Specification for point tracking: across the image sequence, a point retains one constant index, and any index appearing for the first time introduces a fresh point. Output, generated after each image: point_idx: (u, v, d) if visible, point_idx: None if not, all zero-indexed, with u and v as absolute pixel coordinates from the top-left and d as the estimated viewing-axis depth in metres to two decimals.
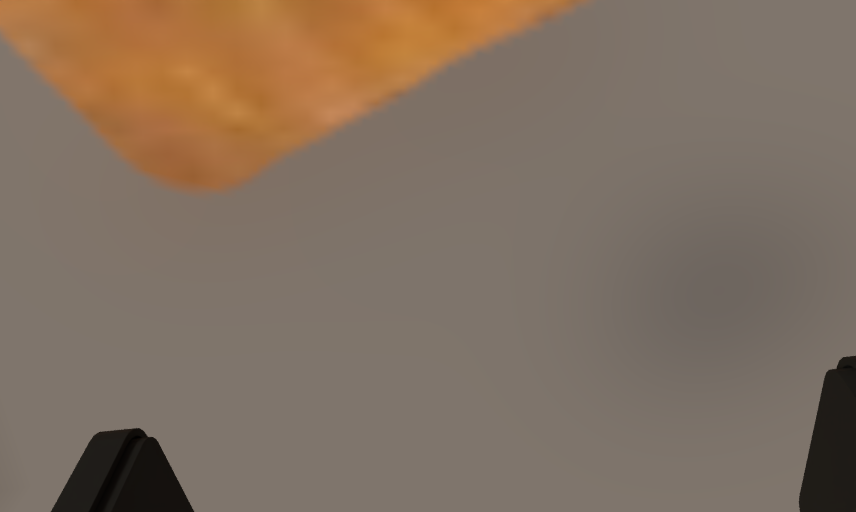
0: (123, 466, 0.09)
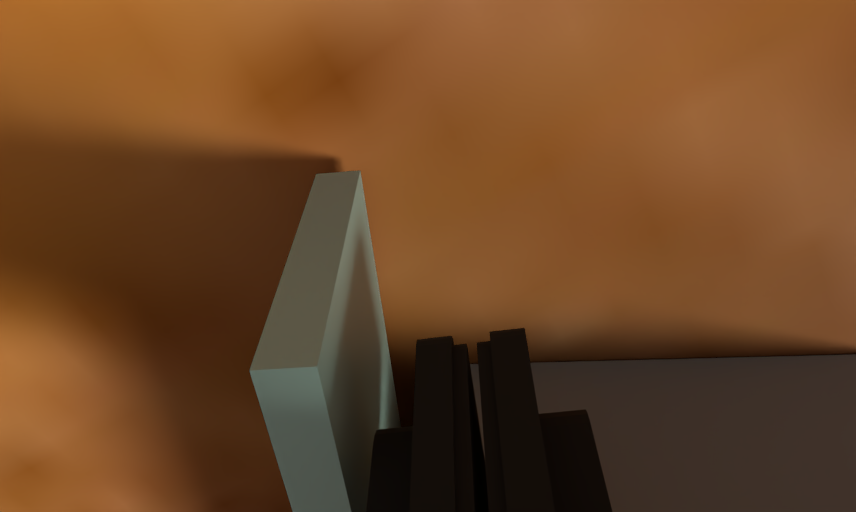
0: (458, 366, 0.10)
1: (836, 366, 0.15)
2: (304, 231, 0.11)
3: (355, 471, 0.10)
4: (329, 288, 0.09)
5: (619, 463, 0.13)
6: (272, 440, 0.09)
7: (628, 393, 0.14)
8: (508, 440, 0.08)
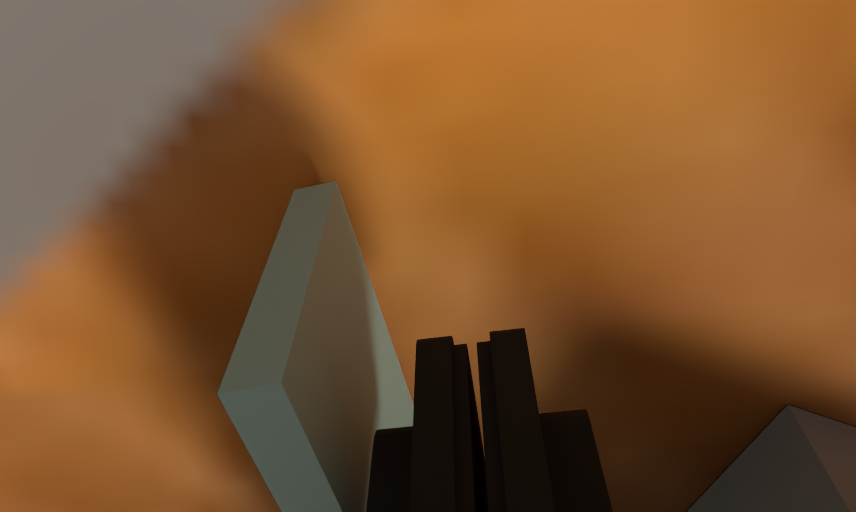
0: (458, 366, 0.10)
1: None
2: (278, 248, 0.11)
3: (351, 481, 0.10)
4: (299, 302, 0.09)
5: None
6: (255, 460, 0.09)
7: None
8: (508, 440, 0.08)
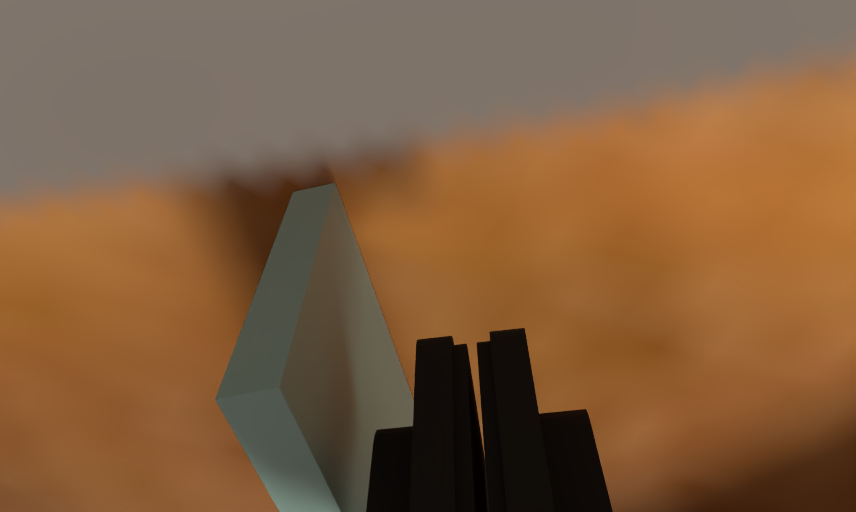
0: (458, 366, 0.10)
1: None
2: (276, 252, 0.11)
3: (351, 484, 0.10)
4: (297, 307, 0.09)
5: None
6: (254, 464, 0.09)
7: None
8: (508, 440, 0.08)
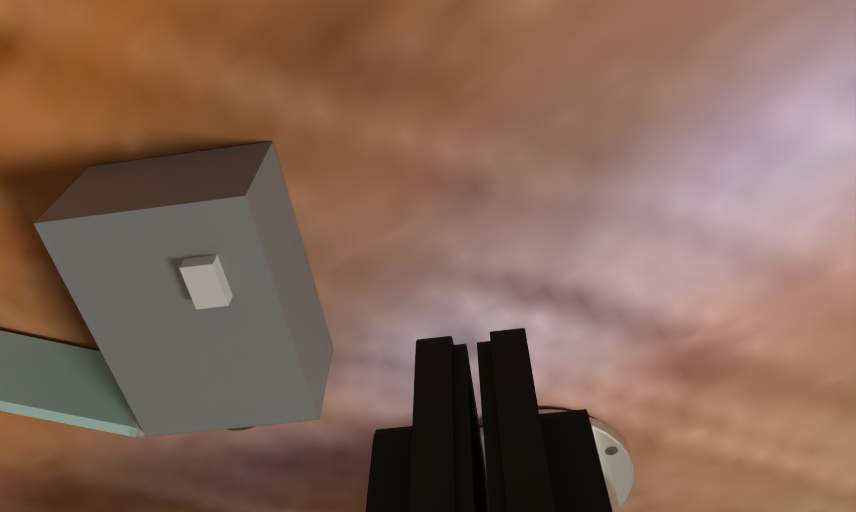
0: (458, 366, 0.10)
1: (243, 147, 0.35)
2: None
3: None
4: None
5: (130, 182, 0.34)
6: None
7: (154, 165, 0.35)
8: (508, 440, 0.08)
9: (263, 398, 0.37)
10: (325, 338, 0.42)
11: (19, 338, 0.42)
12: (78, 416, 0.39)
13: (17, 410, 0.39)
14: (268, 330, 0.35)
